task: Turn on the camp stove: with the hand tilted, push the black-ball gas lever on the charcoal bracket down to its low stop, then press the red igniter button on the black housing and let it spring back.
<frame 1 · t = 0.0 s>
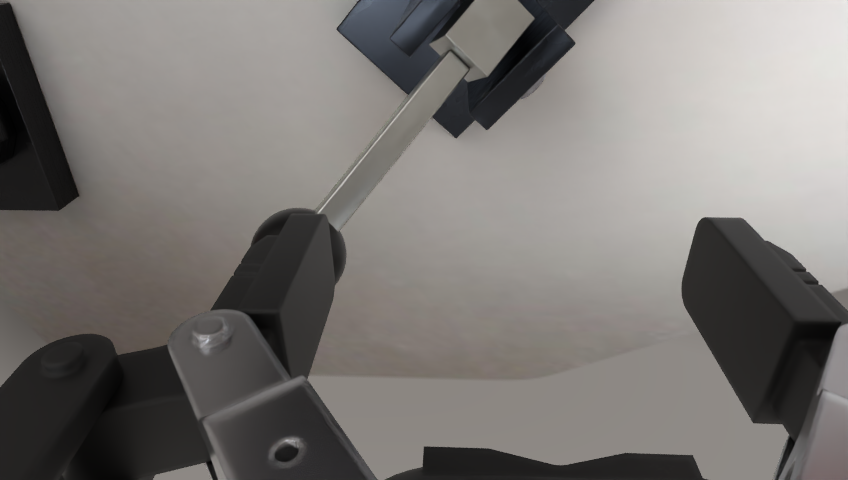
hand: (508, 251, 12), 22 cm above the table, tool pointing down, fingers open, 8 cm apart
gas lever: (386, 147, 21), point 12 cm above the table, hinge at 25.0°
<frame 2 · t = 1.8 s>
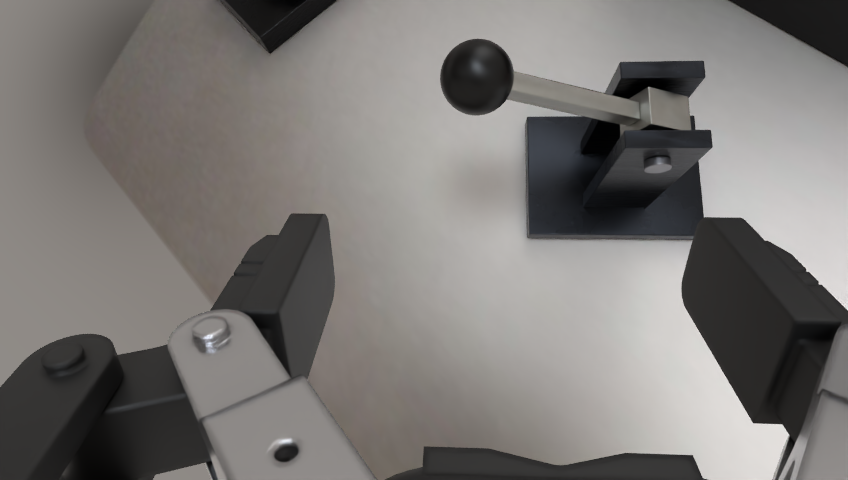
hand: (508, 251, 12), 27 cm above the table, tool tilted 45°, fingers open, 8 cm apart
gas lever: (567, 98, 29), point 12 cm above the table, hinge at 25.0°
gas valve: (608, 179, 41), on the table
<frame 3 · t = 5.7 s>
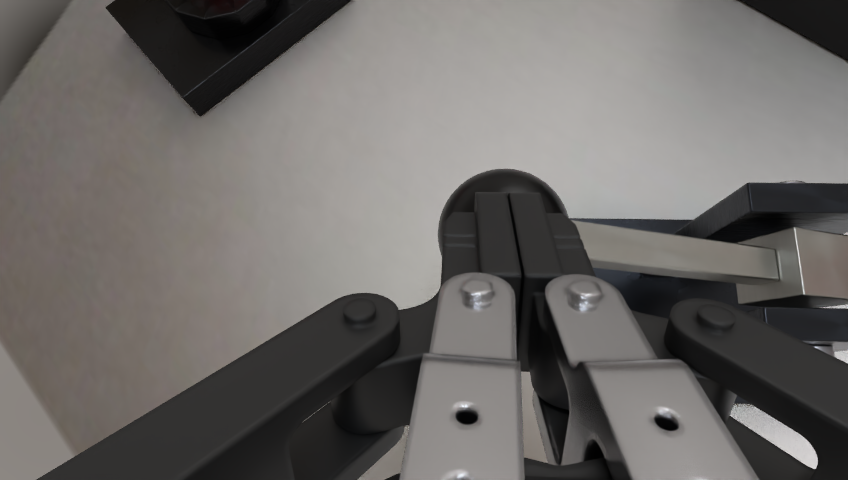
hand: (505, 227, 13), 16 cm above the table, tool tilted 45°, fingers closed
gas lever: (659, 254, 17), point 12 cm above the table, hinge at 22.0°, touching gripper
gas valve: (678, 310, 28), on the table
igniter: (241, 13, 34), on the table
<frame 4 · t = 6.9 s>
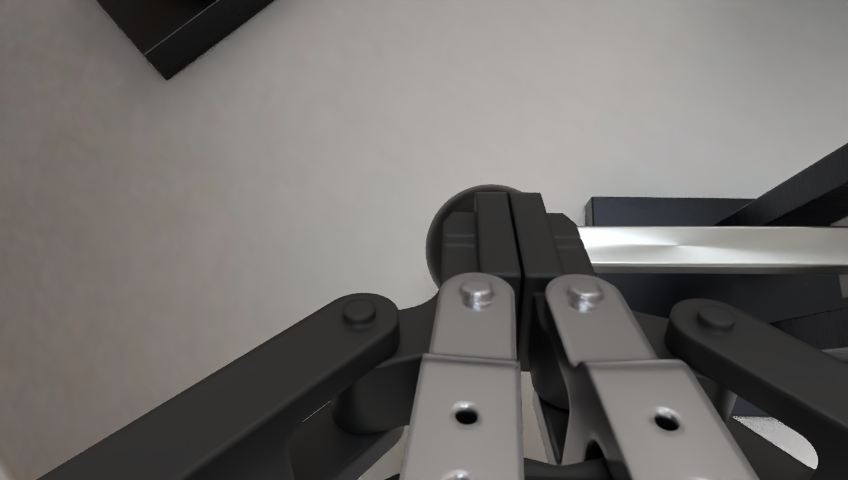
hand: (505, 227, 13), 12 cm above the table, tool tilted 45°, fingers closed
gas lever: (690, 250, 15), point 10 cm above the table, hinge at -3.4°, touching gripper
gas valve: (730, 305, 24), on the table
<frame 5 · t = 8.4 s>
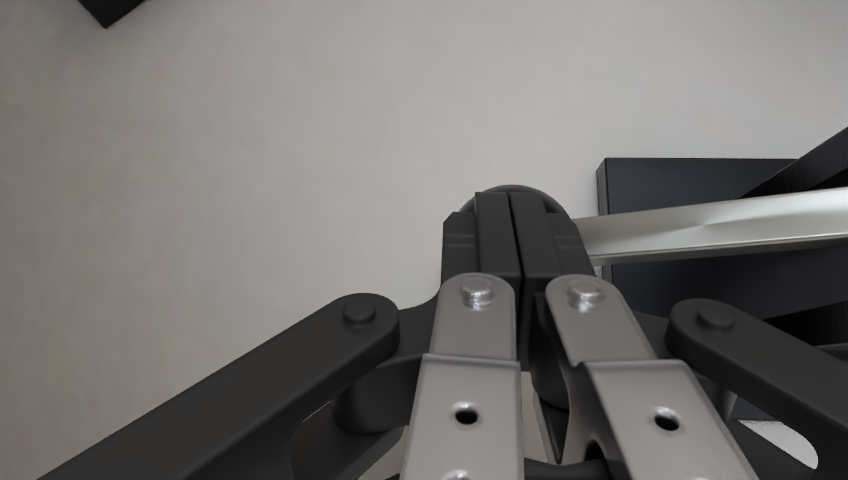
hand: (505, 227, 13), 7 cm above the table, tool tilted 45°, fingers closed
gas lever: (728, 228, 13), point 7 cm above the table, hinge at -26.4°
gas valve: (773, 288, 20), on the table
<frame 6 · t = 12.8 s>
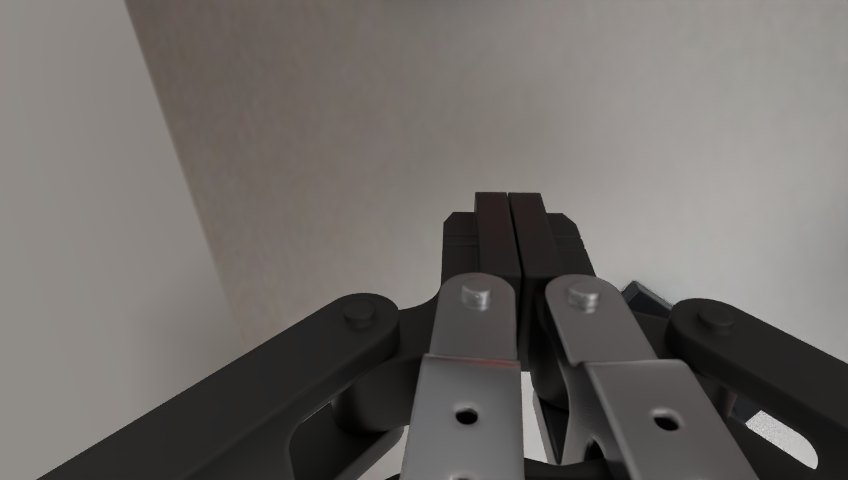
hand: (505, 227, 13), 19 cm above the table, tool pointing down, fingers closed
gas valve: (657, 376, 37), on the table
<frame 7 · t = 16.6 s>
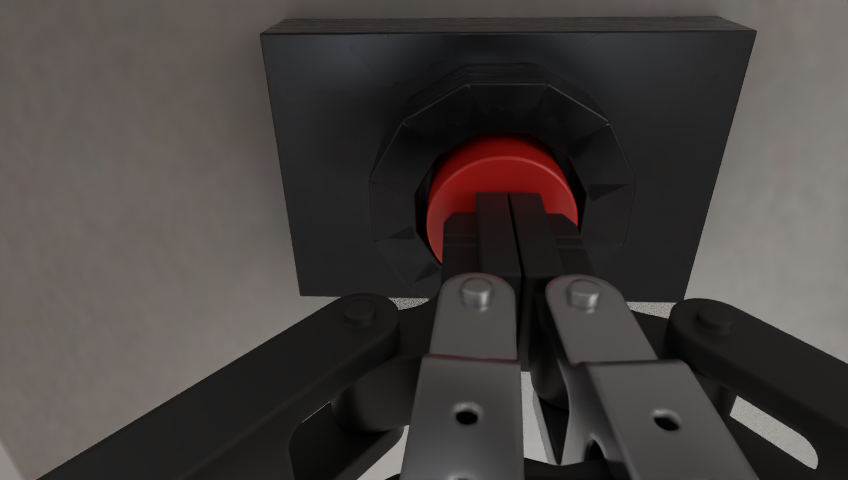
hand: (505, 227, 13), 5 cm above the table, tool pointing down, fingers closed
igniter: (490, 154, 17), on the table
igniter button: (498, 208, 14), point 4 cm above the table, slide at -0.8 cm, touching gripper
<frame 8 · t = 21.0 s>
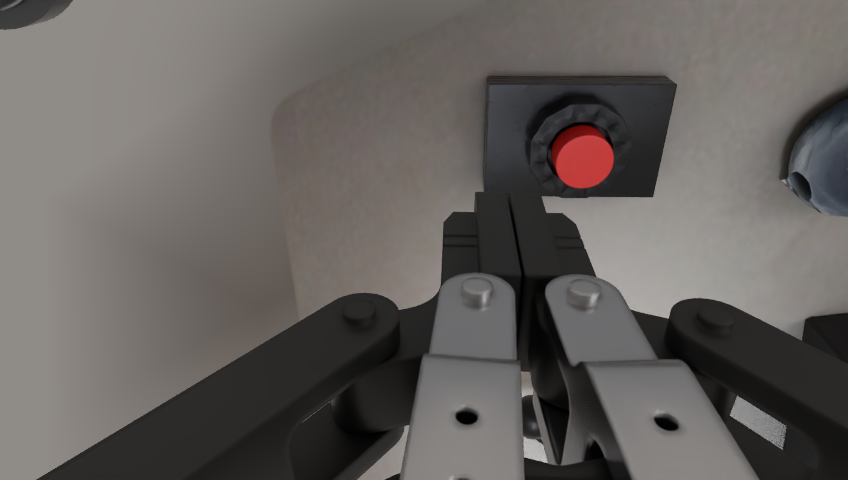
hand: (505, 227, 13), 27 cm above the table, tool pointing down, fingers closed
gas lever: (574, 467, 46), point 7 cm above the table, hinge at -26.4°
igniter: (569, 132, 40), on the table
igniter button: (581, 156, 36), point 5 cm above the table, slide at 0.1 cm
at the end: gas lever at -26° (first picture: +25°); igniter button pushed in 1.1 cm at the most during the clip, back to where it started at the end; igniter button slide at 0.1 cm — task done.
